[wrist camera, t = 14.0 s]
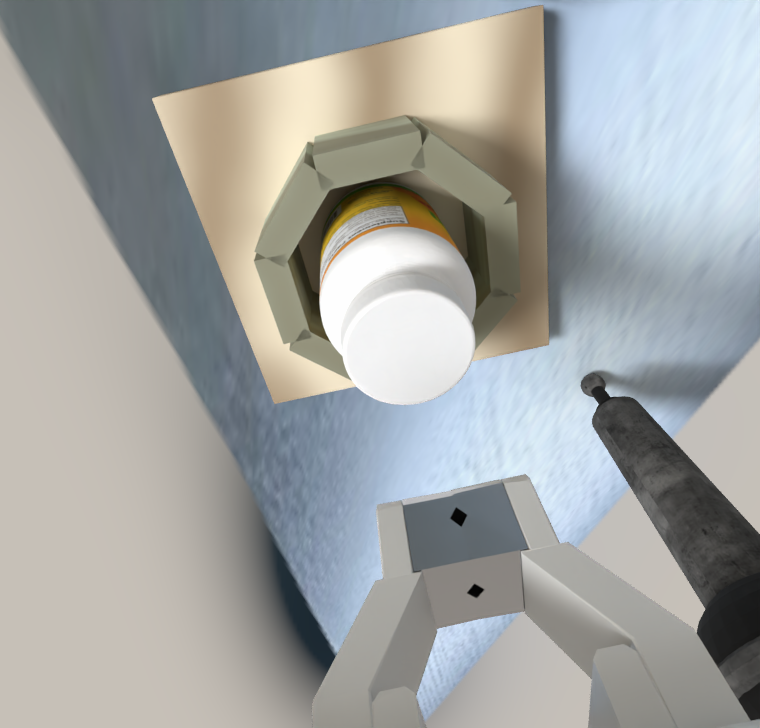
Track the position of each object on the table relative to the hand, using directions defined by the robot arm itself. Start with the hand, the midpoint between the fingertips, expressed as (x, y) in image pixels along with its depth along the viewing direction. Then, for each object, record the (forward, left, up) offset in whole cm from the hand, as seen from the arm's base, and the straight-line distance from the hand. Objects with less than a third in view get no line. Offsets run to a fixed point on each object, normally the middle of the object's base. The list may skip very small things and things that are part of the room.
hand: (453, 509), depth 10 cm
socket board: (0, 0, -17) cm, 17 cm away
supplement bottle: (0, 0, -16) cm, 16 cm away
